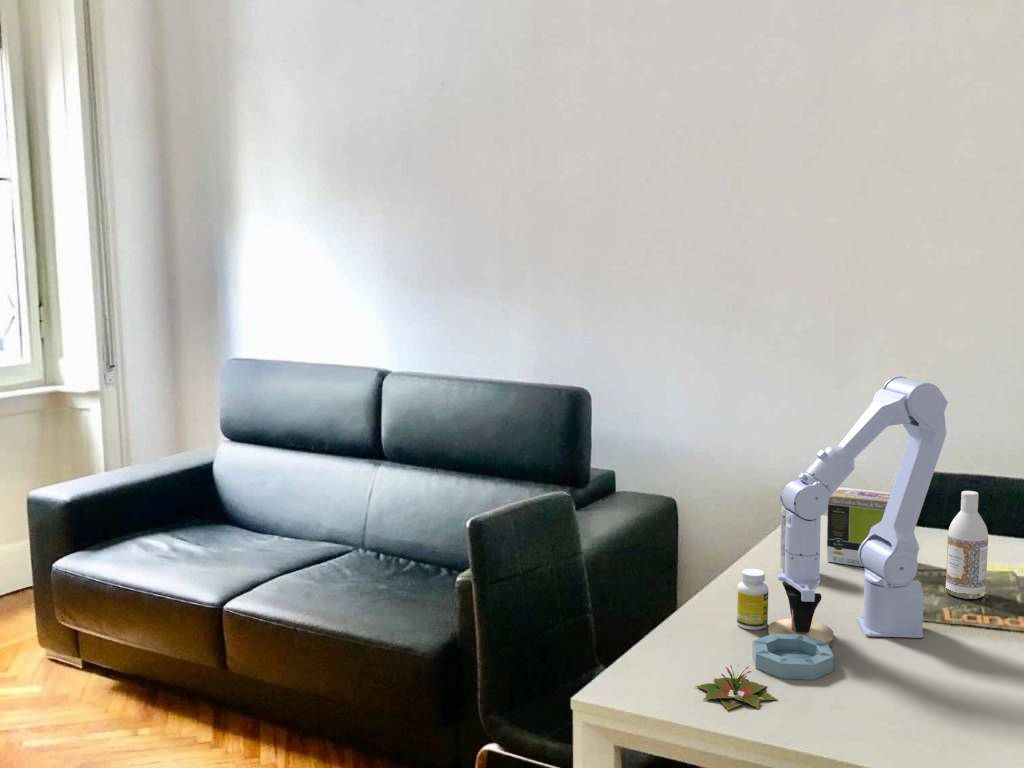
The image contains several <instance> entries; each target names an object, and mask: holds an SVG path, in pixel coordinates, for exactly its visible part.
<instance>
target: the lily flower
mask: <svg viewBox="0 0 1024 768" xmlns="http://www.w3.org/2000/svg"><path fill="white" fill-rule="evenodd" d="M739 666H740V664H738V665H737V668H740V667H739ZM730 668H731V671H732V672H731V671H730V669H729V668H728V667H726V666H725V669H726V670H727V673H728V675H729V677H726V676H725V674H723V673H721V676H722V677H721V678H713V682H714V683H707V682H706V683H704V684H700V685H695V687H696V688H699V689H701V690H704V691H706V692H707V693H706V695H705V697H704V698H703V699H702V701H705V700H707V701H708V700H712V699H719V701H720V703H721V704H722V705H723V707H725V708H726V711H729V710H732V709H733V708H736V707H739V706H740V705H741V706H742V705H743V704H745V703H747V704H748V705H750V706H753V707H755V708H756V709H757V710H760V701H773V700H774V701H779V699H778V698H776V697H775V696H772V694H770V693H769V692H765V691H762V690H763V689H765V688H768V686H766V685H763V684H760V683H758V682H754V681H751V680H750V679H749V678H748V679H747V677H748V675H747V674H751V673H752V671H750V670H749V671H747V672H745V671H746V670H748V668H750V667H749V666H747V667H745V669H744V670H743V671H742V672H741V674H739V672H738V671H739V670H737V672H734V670H733V667H732V665H730ZM736 673H737V675H738V676H736ZM743 673H744V674H743ZM735 676H736V677H735ZM730 691H733V695H737V694H738V693H739V692H742V693H743V695H742V696H741V697H738V696H732V695H731V696H730V695H729V693H730ZM729 699H735V700H737V701H735V702H732V701H730V700H729Z"/></svg>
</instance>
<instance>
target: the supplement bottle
mask: <svg viewBox="0 0 1024 768" xmlns="http://www.w3.org/2000/svg"><path fill="white" fill-rule="evenodd" d="M741 580H742V581H740V582H739V583H738V584H737V589H736V590H737V595H736V597H737V598H736V624H737V626H739V627H740V628H742V629H744V630H750V631H751V630H752V631H757V630H759V631H760V630H764V629H766V628H768V627H767V626H768V621H769V620H768V619H769V617H768V615H769V586H768V585H767V584H766V583H765V581H766V573H765V571H763V570H762V569H758V568H745V569H743V570H742V571H741Z"/></svg>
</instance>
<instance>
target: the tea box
mask: <svg viewBox="0 0 1024 768" xmlns="http://www.w3.org/2000/svg"><path fill="white" fill-rule="evenodd" d="M891 491H892V490H891ZM891 491H890V490H881V489H869V488H868V489H867V488H860V487H849V486H839V487H838V488H837V489H836V490H835V491H834V492H833V493H832V494H831V497H830V498H829V504H828V508H827V516H826V517H827V522H826V523H827V527H826V530H827V531H826V561H827V562H828V563H834V564H842V565H847V566H849V565H850V566H856V567H863V566H862V564H861V563H860V561H859V559H858V550H859V547H860V545H861V544H862V542H863V541H864V540H865V539H866V538H867V536H868V535H869V532H870V529H871V528H872V527H873V526H874V525H876V524H878V523H879V522H881V521H882V518H883V515H884V512H885V509H886V506H887V503H888V500H889V497H890V494H891ZM863 568H864V567H863Z"/></svg>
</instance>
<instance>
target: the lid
mask: <svg viewBox="0 0 1024 768" xmlns="http://www.w3.org/2000/svg"><path fill="white" fill-rule="evenodd" d="M767 630H768V631H767V634H768V635H770V634H798V635H805V636H808V637H811V638H813V639H816V640H819V641H822V642H825V643H829V642H831V643H832V641H833V640H834V630H833V629H832V627H829V626H828V625H826V624H824V623H823V622H822V623H821V622H819V621H815V620H812V622H811V626H810V630H809V632H796V629H795V625H794V618H793V611H792V617H791V618H782V619H778V620H774V621H773V622H771V623H769V625H768V627H767Z"/></svg>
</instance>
